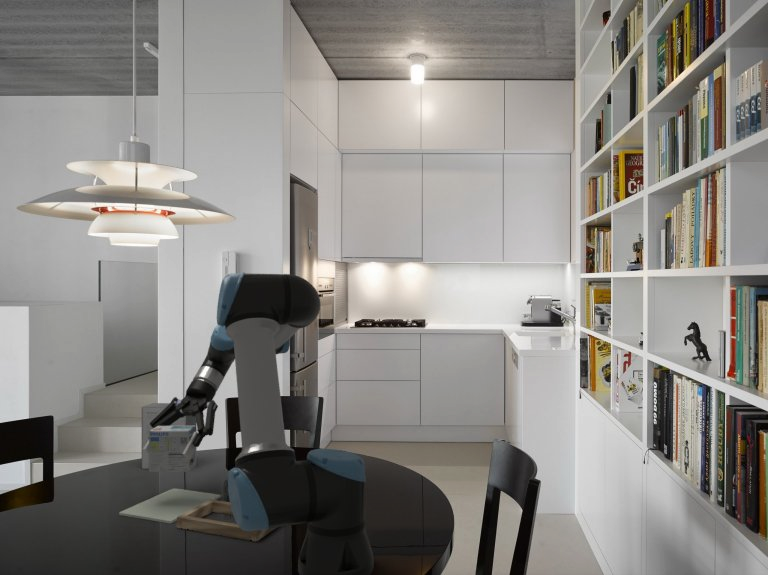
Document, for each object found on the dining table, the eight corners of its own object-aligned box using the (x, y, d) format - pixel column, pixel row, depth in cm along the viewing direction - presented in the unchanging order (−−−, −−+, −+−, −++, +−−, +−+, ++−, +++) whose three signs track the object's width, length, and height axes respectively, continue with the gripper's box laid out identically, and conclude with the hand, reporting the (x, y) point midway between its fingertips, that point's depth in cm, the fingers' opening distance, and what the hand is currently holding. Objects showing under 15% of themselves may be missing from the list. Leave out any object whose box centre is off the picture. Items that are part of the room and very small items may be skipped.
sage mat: (170, 523, 139) (170, 521, 139) (118, 514, 145) (118, 512, 145) (221, 497, 158) (221, 494, 158) (173, 490, 164) (173, 488, 164)
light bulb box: (197, 464, 156) (197, 424, 156) (189, 472, 149) (190, 430, 149) (156, 465, 155) (157, 424, 155) (147, 472, 148) (148, 430, 149)
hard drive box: (197, 464, 189) (197, 403, 189) (185, 471, 181) (186, 407, 182) (153, 462, 191) (153, 402, 192) (140, 469, 184) (140, 406, 184)
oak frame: (256, 541, 129) (257, 530, 129) (176, 527, 137) (176, 517, 137) (286, 520, 142) (286, 510, 142) (211, 509, 149) (211, 499, 149)
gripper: (245, 397, 162) (211, 466, 148) (176, 391, 171) (136, 457, 156) (235, 380, 158) (198, 451, 143) (163, 376, 166) (121, 442, 151)
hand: (166, 454), depth 150 cm, fingers closed on light bulb box, 12 cm apart
